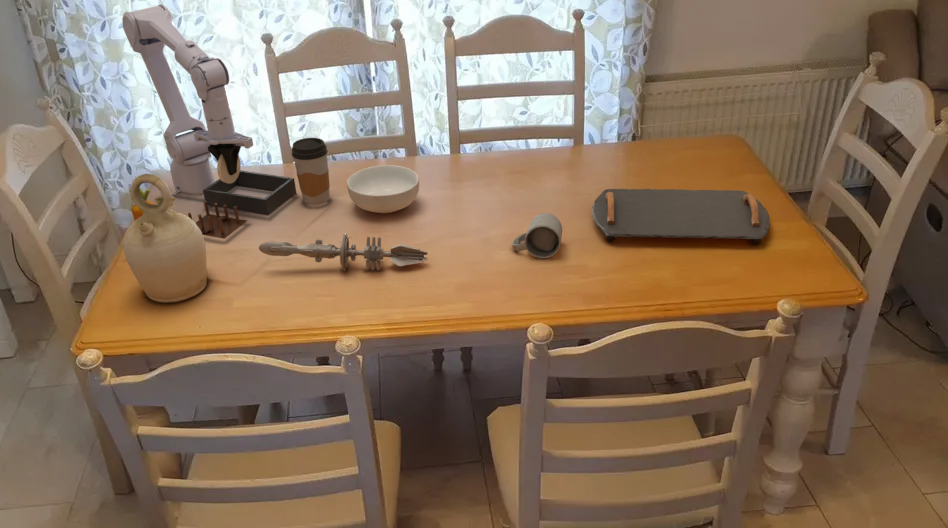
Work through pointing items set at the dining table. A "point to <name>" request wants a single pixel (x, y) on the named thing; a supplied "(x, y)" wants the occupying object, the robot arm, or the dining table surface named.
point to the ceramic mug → (541, 236)
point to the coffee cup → (312, 169)
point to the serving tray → (680, 214)
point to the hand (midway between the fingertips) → (230, 173)
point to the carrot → (137, 211)
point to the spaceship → (348, 252)
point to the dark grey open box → (277, 184)
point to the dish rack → (218, 222)
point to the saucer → (224, 173)
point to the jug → (165, 247)
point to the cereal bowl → (383, 188)
